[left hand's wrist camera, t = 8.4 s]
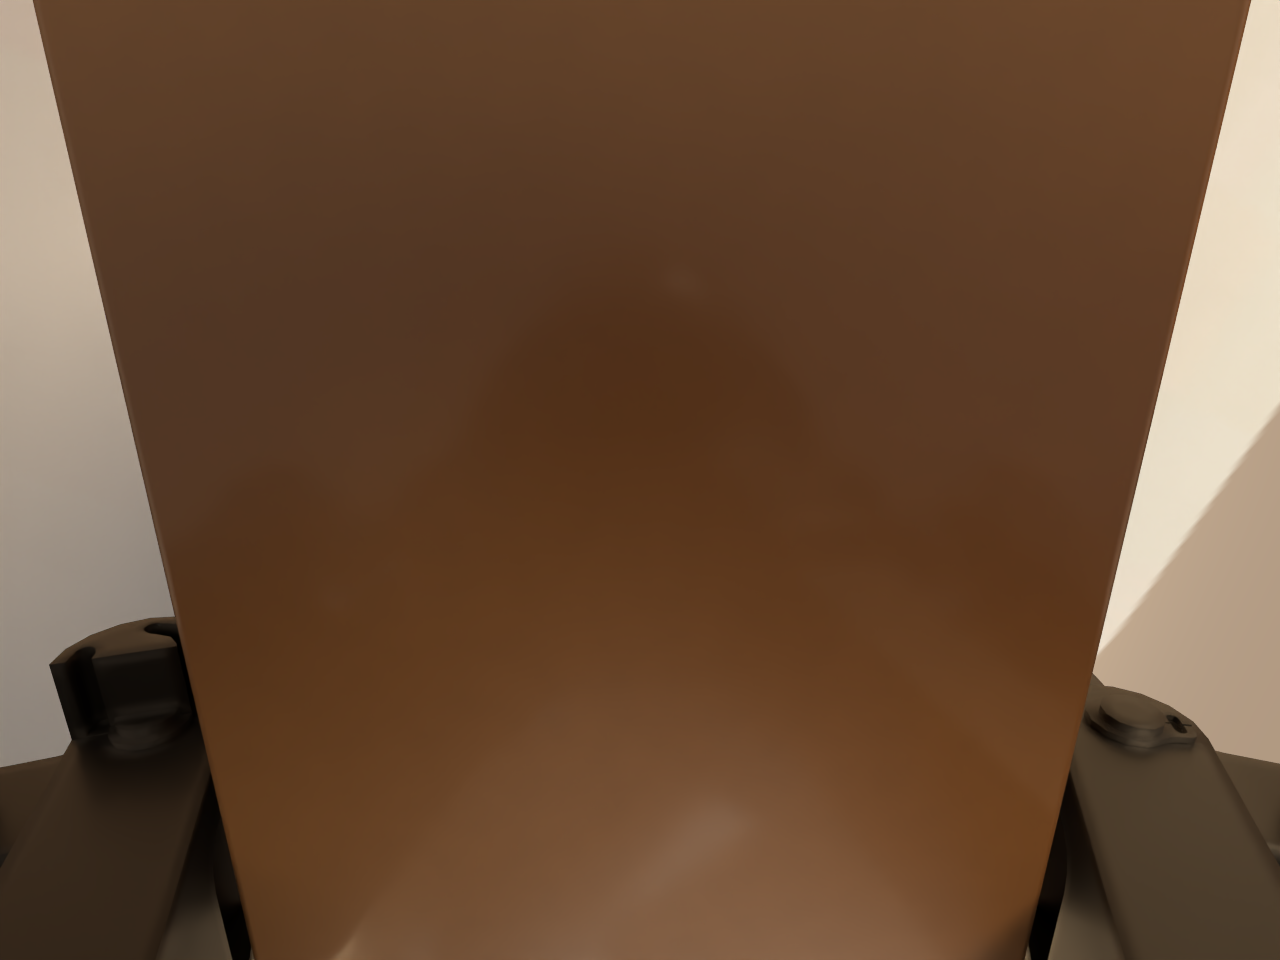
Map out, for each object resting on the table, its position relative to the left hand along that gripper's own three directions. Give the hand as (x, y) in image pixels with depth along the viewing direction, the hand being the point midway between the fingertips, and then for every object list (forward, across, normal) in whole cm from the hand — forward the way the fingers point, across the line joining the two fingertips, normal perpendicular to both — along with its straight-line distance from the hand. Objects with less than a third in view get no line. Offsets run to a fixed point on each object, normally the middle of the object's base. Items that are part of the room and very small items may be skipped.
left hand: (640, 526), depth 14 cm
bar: (+1, 0, -9) cm, 9 cm away
